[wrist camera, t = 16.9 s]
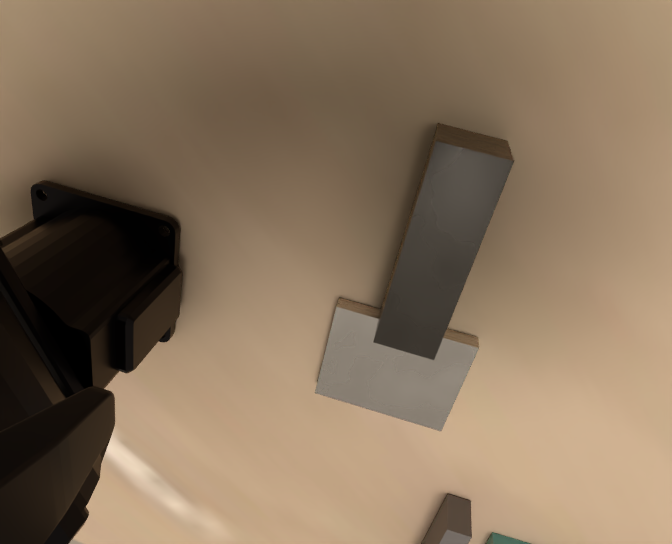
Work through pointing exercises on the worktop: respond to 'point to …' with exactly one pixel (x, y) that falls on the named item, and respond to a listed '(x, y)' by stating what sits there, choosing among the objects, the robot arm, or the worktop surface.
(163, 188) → the worktop surface
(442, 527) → the corral
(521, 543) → the tile
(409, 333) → the turner
